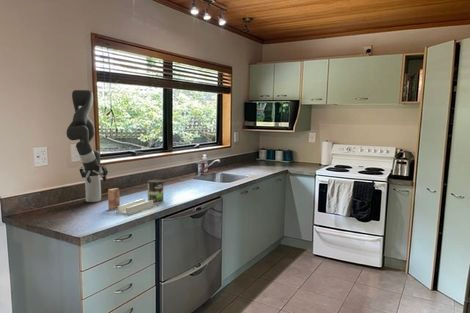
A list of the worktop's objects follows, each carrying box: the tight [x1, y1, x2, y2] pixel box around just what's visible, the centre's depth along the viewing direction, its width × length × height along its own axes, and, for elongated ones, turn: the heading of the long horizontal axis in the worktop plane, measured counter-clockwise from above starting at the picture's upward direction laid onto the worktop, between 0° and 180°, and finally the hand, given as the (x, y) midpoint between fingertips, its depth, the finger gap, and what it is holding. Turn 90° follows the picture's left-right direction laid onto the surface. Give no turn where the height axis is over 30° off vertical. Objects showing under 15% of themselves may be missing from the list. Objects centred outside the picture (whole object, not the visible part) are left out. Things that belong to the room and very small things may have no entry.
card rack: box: [115, 198, 156, 216], centre depth 208 cm, size 22×10×4 cm, turn 153°
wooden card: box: [107, 187, 121, 211], centre depth 209 cm, size 6×3×12 cm, turn 153°
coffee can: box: [147, 178, 164, 205], centre depth 226 cm, size 10×10×14 cm
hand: (97, 181), depth 197 cm, fingers open, 8 cm apart
